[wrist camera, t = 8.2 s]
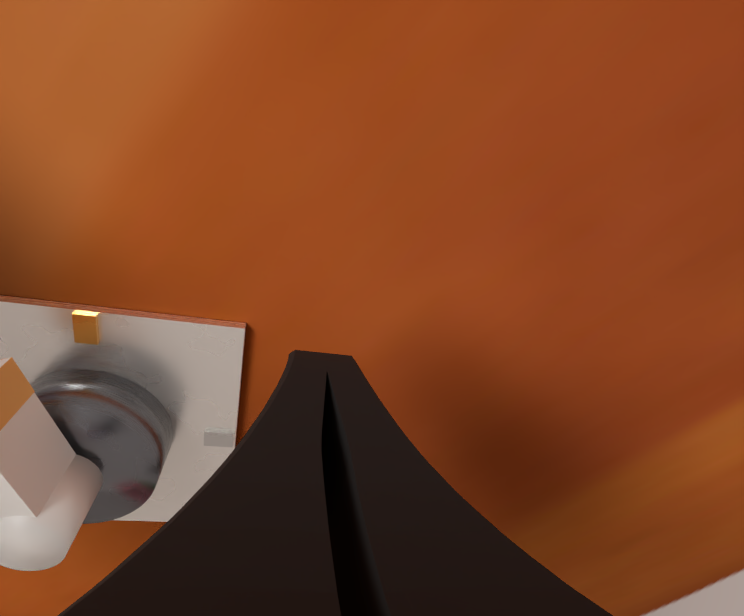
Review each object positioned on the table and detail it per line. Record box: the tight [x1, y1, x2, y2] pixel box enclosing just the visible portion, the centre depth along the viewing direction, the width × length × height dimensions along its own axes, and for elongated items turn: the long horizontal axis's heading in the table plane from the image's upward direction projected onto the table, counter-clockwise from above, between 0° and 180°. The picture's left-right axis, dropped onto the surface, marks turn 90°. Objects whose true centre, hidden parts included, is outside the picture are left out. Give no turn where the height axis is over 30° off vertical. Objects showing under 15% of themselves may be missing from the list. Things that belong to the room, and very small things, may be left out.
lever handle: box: [0, 357, 103, 571], centre depth 16 cm, size 7×3×3 cm, turn 10°
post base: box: [0, 295, 246, 524], centre depth 21 cm, size 13×13×3 cm
